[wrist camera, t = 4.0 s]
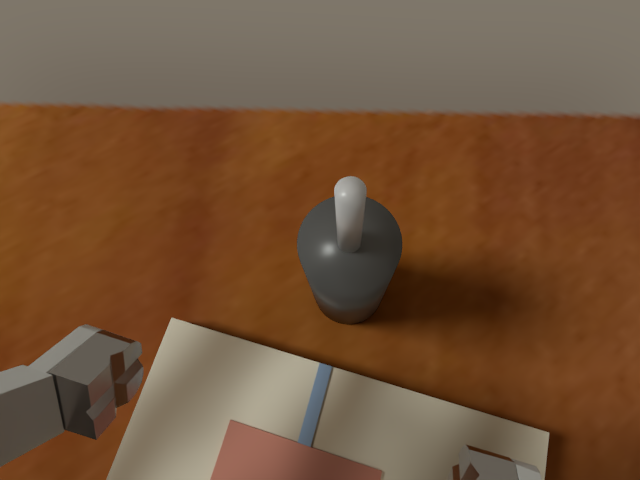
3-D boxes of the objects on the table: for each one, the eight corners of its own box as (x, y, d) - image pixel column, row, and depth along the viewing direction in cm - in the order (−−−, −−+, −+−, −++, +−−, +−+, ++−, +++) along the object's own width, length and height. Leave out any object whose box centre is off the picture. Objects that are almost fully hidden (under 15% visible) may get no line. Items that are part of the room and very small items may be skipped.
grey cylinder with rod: (389, 267, 22) (436, 145, 10) (373, 332, 20) (406, 277, 9) (325, 250, 22) (302, 116, 11) (306, 313, 21) (259, 239, 10)
